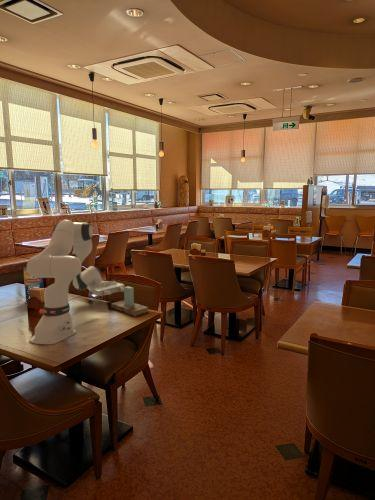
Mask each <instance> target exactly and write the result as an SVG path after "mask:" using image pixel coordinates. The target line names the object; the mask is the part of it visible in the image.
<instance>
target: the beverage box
mask: <svg viewBox="0 0 375 500" xmlns="http://www.w3.org/2000/svg"><path fill="white" fill-rule="evenodd" d="M23 279H24V280H23V281H24V291H25V294H24V295H25V303H26V302H27V299H28V298H29V294H28V292H27V291H28V289H30V288H33V287H39V288H44V278H39V277H34V276H31V275H30V274H29V273H28V271H27V266H26V267H23Z"/></svg>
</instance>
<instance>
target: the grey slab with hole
mask: <svg viewBox="0 0 375 500" xmlns="http://www.w3.org/2000/svg"><path fill="white" fill-rule="evenodd" d="M110 305H111V309H112V308H114V309H113V310H115V309H117V310H116V311H118V310H120V311H119V312H121V311H123V312H122V313H124V312H125V313H124V314H126V313H128V314H127V315H129V314H131V315H130V316H132V315H133V316H132V317H137V315H138V316H139V315H140V314H141V315H143V313H144V314H146V312H147V313H149V307H148V306H145V305H143V304H139V303H135V302H134V306H133V307H127V306H125V301H124V299H122V300H120V301H115V302H112V303H111V304H110Z"/></svg>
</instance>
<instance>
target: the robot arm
mask: <svg viewBox="0 0 375 500" xmlns="http://www.w3.org/2000/svg"><path fill="white" fill-rule="evenodd" d="M93 235H94V229H93V226H92V224H91V223H89V222H86V221H85V222H84V221H83V222H76V221H75V222H74V221H72V220H70V219H63V220H60V221H59V222H58V223H56V224H55V225H54V226H53V228H52V236H51V239H50V240H49V243H48V244H47V246H45V248H44V249H43V250H42V251H41V252H39V253H38V254H35V255H33V256H32V257H30V258H29V259H28V261H27V262H26V267H27V271H28V273H29V274H30V275H31V276H34V277H39V278H43V279H46V278H47V279H49V278H50V279H51V278H53V279H54V283H52V284H50V285H48V286H46V287H47V288H46V287H45V288H44V289H45V291H44V306H43V308H42V309H39V314H42V316H41V318H40V319H39V321H38V323H37V325H36V326H35V327H34V335H33V336H31V338H29V343H32V344H37V345H55V344H57V343H59V342H61V341H63V340H65V339H68V338H69V337H72V336H73V335H75V334H76V333H77V332H76V331H77V330H76V329H75V327H74V323H73V322H74V321H73V316H72V315H71V312H70V311H71V309H70V308H71V305H70V303H69V288H70V285H71V283H72V285H73V287H74V288H75V289H76V290H78V291H85V290H86V289H87V290H89V291H90V292H91V293H93V295H95V296H96V297H102V296H110V295H112V294H115V293H118V292H122V293H124V287H125V284H124V283H121V282H116V280H109V281H108V280H103V274H102V271H101V270H100V269H99V268H98V267H97V266H94V265H91V266H88V267H87V268H86V269H85V270H83V271H82V264H83V262H84V261H85V260H86V258H87V257H88V256H89V255H90V254H91V252H92V250H93V241H92V238H93ZM72 249H73V250H72ZM71 252H72V253H71ZM69 254H71V255H69Z"/></svg>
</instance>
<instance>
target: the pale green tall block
mask: <svg viewBox="0 0 375 500" xmlns="http://www.w3.org/2000/svg"><path fill="white" fill-rule="evenodd" d="M134 292H135V291H134V287H132V286H130V285H129V286H124V291H123V294H124V296H123V298H124V299H123V300H124V301H125V306H127V307H133V306H134V303H135V300H134V299H135V297H134V296H135V295H134V294H135V293H134Z"/></svg>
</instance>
